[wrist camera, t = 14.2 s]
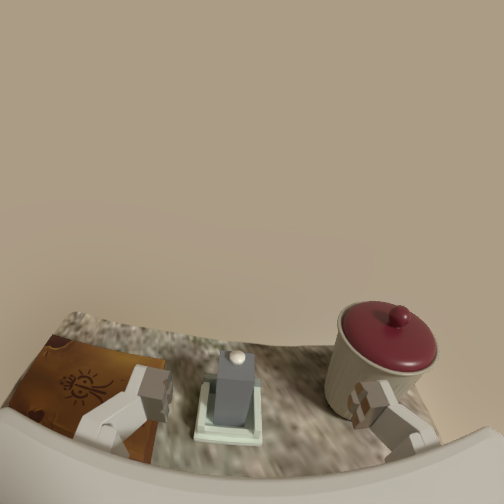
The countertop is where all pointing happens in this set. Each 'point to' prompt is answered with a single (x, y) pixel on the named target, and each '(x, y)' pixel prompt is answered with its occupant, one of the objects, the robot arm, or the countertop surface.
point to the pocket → (227, 434)
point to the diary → (81, 389)
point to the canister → (378, 351)
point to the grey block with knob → (234, 387)
